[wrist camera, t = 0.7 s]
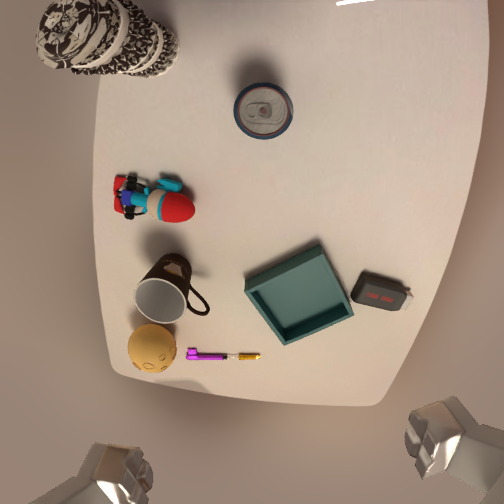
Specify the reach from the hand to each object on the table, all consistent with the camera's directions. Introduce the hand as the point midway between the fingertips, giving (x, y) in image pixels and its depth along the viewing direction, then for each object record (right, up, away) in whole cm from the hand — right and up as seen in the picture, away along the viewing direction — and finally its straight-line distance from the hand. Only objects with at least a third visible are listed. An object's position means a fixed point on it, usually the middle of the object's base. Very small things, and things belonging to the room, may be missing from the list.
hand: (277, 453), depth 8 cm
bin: (+8, -2, +50) cm, 50 cm away
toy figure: (-16, +15, +42) cm, 48 cm away
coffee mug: (-14, +2, +49) cm, 51 cm away
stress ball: (-20, -11, +56) cm, 60 cm away
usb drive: (+24, -2, +49) cm, 55 cm away
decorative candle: (-15, +36, +31) cm, 50 cm away
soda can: (+1, +27, +36) cm, 44 cm away
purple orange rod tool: (-7, -16, +58) cm, 60 cm away
